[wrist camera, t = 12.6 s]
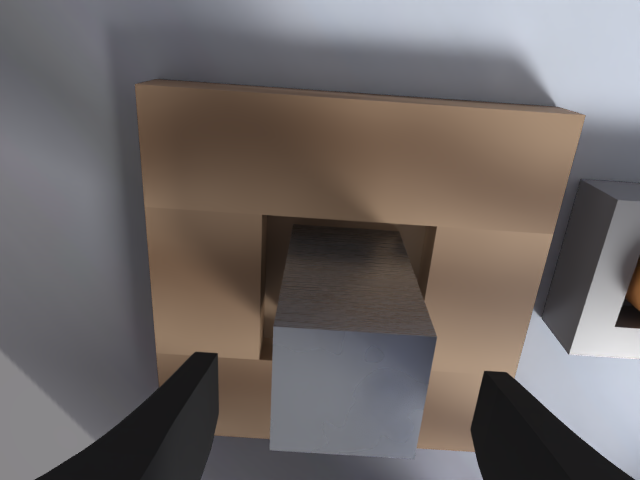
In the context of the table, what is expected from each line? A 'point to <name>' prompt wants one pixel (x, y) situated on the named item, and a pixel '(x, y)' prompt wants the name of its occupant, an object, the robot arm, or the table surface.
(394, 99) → the wooden board
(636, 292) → the button cap
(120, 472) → the robot arm
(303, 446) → the billet
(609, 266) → the button housing
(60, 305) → the table surface
